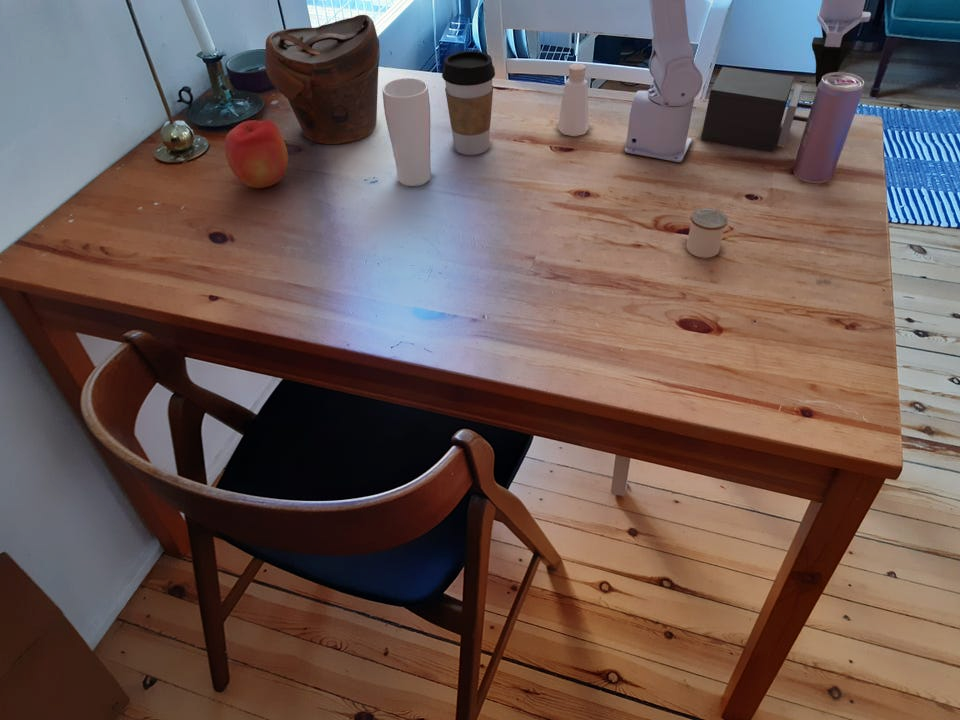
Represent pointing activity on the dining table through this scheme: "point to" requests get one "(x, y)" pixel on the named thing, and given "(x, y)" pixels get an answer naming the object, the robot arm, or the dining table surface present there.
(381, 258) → the dining table surface
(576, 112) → the pepper shaker
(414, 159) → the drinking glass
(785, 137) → the drawer
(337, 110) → the case
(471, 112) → the coffee cup
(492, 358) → the dining table surface
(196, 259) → the dining table surface
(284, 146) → the apple
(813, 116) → the beverage can
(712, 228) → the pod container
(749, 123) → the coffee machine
